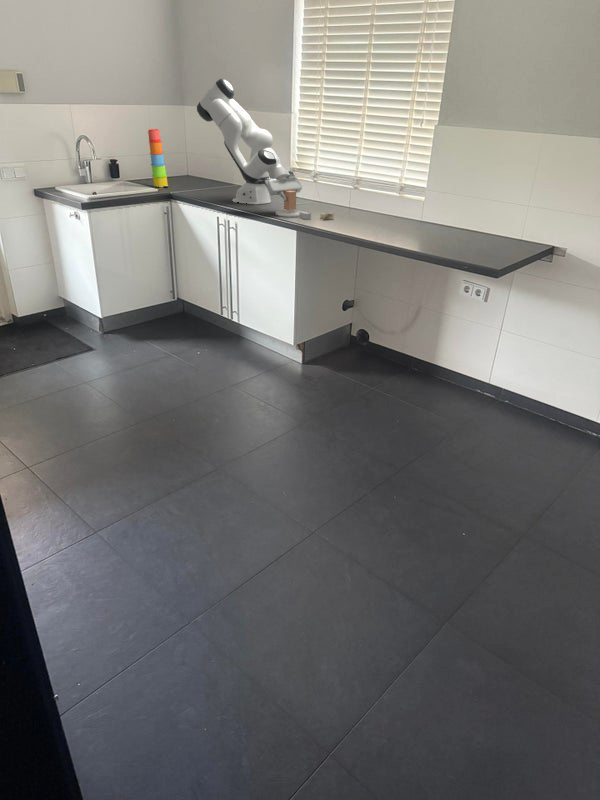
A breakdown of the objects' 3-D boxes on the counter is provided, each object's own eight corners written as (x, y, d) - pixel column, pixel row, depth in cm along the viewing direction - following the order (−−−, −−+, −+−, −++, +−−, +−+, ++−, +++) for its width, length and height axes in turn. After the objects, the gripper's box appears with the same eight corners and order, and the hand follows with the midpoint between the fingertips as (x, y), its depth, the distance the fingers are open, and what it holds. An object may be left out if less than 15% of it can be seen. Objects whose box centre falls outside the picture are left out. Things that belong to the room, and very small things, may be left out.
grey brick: (299, 218, 291) (299, 212, 290) (304, 217, 292) (304, 211, 291) (306, 220, 287) (306, 213, 285) (310, 219, 288) (311, 213, 287)
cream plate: (272, 216, 293) (272, 213, 292) (280, 211, 305) (280, 208, 305) (300, 218, 290) (300, 215, 289) (306, 213, 302) (306, 210, 302)
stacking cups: (166, 188, 366) (161, 129, 350) (151, 188, 366) (145, 129, 350) (170, 186, 375) (166, 128, 359) (155, 186, 375) (150, 128, 359)
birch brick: (323, 220, 287) (323, 214, 285) (320, 219, 289) (320, 213, 287) (333, 219, 289) (333, 213, 288) (330, 218, 292) (330, 212, 290)
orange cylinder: (283, 209, 296) (284, 191, 292) (290, 208, 299) (290, 190, 295) (289, 210, 293) (289, 192, 289) (295, 209, 296) (296, 191, 292)
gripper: (265, 174, 287) (277, 197, 285) (296, 171, 298) (308, 193, 297) (260, 182, 292) (272, 205, 290) (291, 179, 304) (302, 201, 302)
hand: (290, 199), depth 293 cm, fingers closed on orange cylinder, 4 cm apart
